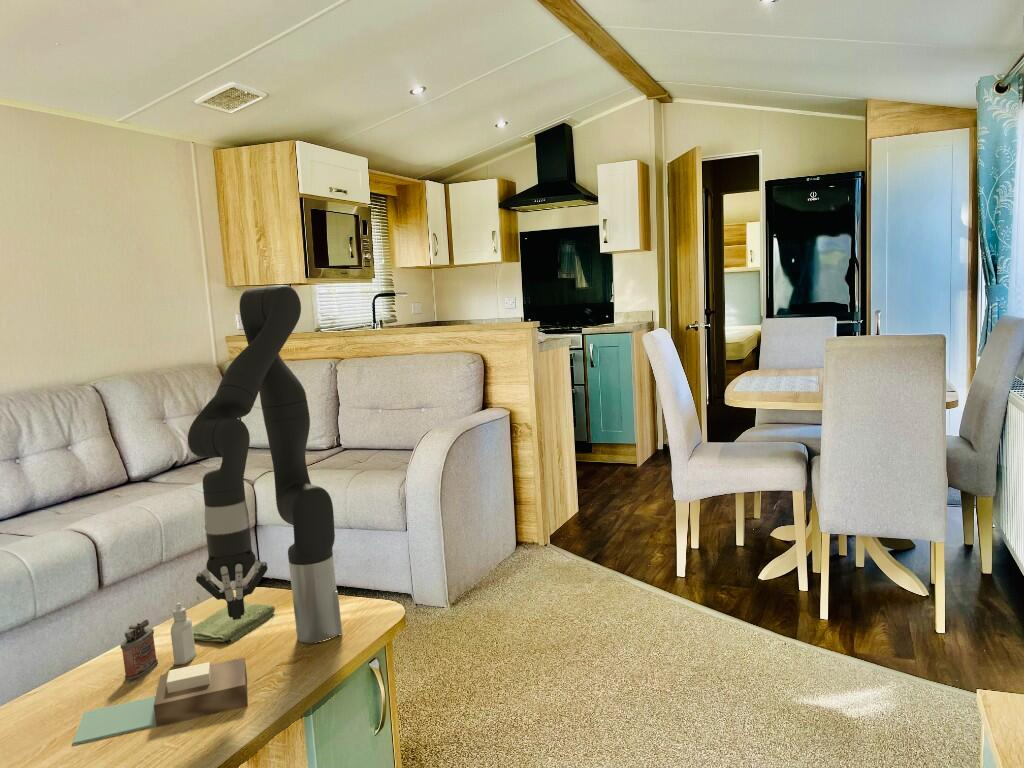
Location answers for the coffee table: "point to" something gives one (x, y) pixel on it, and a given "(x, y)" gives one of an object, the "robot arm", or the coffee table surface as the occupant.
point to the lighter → (138, 651)
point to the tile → (189, 677)
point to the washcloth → (231, 623)
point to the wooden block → (203, 694)
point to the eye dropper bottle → (182, 637)
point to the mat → (116, 720)
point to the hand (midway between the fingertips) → (236, 618)
